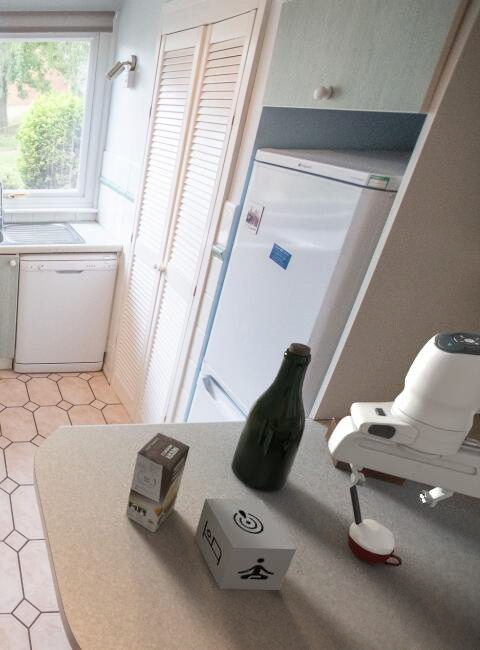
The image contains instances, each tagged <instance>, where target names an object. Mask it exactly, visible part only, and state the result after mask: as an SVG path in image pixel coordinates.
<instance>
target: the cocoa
mask: <svg viewBox="0 0 480 650" xmlns="http://www.w3.org/2000/svg"><path fill="white" fill-rule="evenodd" d="M357 487H358V486H357V485H354V484H352V486H350V487H349V494H350V500H351V505H352V511H353V518H354V522H353V523H351V524H350V527H349V530H348V532H347V545H348V548H349V549H350V551H351V552H352V554H353V555H354V556H356V557H357V558H358V559H359V560H361V561H363V562H364V563H367V564H371V565H384V566H389V567H399V566H401V565H402V564H403V560H402V559H401V557H400V556H398V555H396V554H395V547H396V541H395V537H394V533H392V531H391V530H390V529H388V527H386V526H384V525H382V524H381V523H379V522H378V521H376V520H374V519H373V518H372V519H370V518H364V519H362V513H361V505H360V499H359V494H358V488H357ZM391 558H393V559H395V560H396V561H397V562H388V560H390V559H391Z"/></svg>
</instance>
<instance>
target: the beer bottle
mask: <svg viewBox="0 0 480 650" xmlns="http://www.w3.org/2000/svg"><path fill="white" fill-rule="evenodd" d="M311 350H312V348H311V347H310V346H308V345H306V344H304V343H300V342H292V343H290V344H289V347H287V348H286V349H285V351H284V352H283V356H282V360H281V362H280V363H281V364H280V366H279V368H278V370H277V373H276V375H275V377H274V379H273V381H272V382H271V384H270V385H269V386H268V387H267V388H266V389H265V391H264V392H262V393H261V394H260V395H259V396H258V397H257V398H256V399H255V401H254V402H253V403H252V405H251V407H250V409H249V411H248V413H247V415H246V418H245V421H244V424H243V427H242V430H241V432H240V436H239V439H238V441H237V444H236V447H235V451H234V454H233V457H232V461H231V465H230V466H231V470H232V473H233V474H234V476H235V477H236V478H237V480H239V481H240V482H241V483H243V484H244V485H246V486H248V487H249V488H251V489H254V490H257V491H259V492H264V493H277V492H280V491H281V490H283V489H284V488H285V487H286V485H287V482H288V480H289V477H290V475H291V472H292V468H293V466H294V463H295V460H296V457H297V454H298V452H299V448H300V445H301V442H302V439H303V436H304V432H305V428H306V411H305V406H304V398H303V388H304V381H305V378H306V374H307V371H308V368H309V365H310V364H311V362H312V353H311Z"/></svg>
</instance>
